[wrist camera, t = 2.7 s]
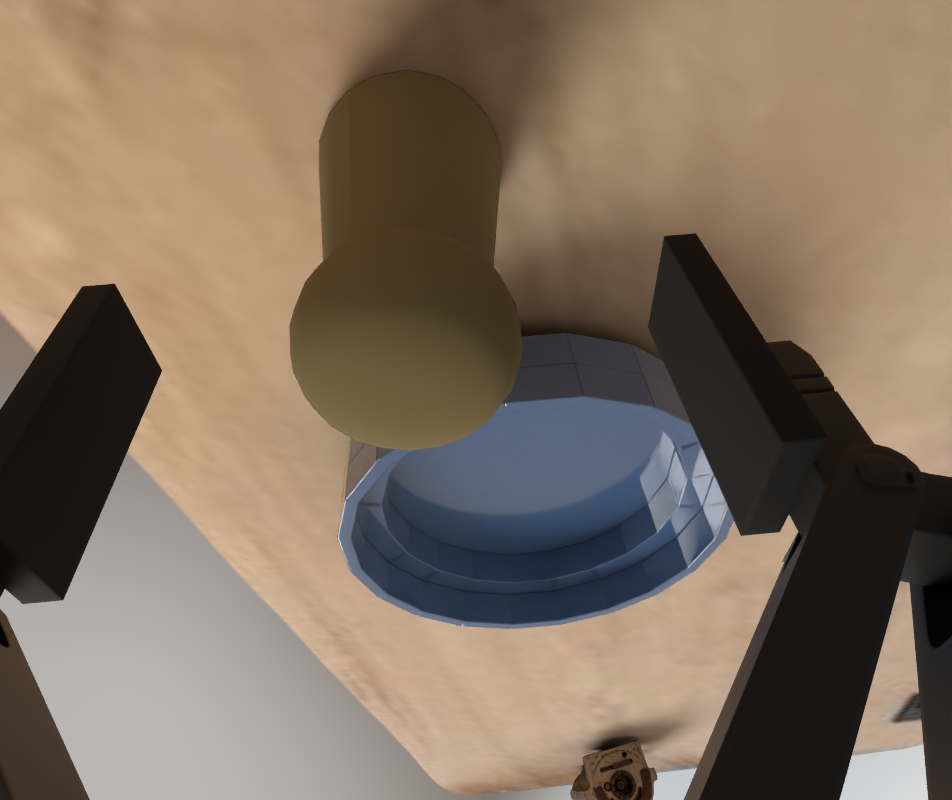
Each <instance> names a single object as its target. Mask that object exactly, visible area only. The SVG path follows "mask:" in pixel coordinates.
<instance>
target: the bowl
mask: <svg viewBox="0 0 952 800" xmlns="http://www.w3.org/2000/svg"><path fill="white" fill-rule="evenodd" d="M521 339H522V348H523V350H522V355H521V361H520V366H519V369H518V372H517V376H516V379H515V382H514V385H513V389H512V391H511V392H510V394H509V395H508V396H507V397H506V399H505V400H504V401H503V403H502V404H501V405H500V407H499V408H498V409H497V410H496V412H495V413H494V414H493V416H492V417H491V418H490V419H489V421H488V422H487V423H485V424H484V425H482V426H481V427H479V428H478V429H477V430H475V431H474V432H472V433H471V434H469V435H468V436H467V437H464V438H461V439H459V440H456V441H453V442H451V443H448V444H445V445H443V446H439V447H431V448H424V449H417V450H402V449H388V448H381V447H377V446H374V445H371V444H367V443H364V442H360V441H357V440H354V439H353V438H351V439H350V445H349V450H348V455H347V461H346V466H345V471H344V479H343V488H342V498H341V507H340V516H339V526H338V535H337V537H338V540H339V543H340V546H341V548H342V551H343V554H344V556H345V559H346V561H347V564H348V567H349V569H350V571H351V572H352V573H353V574H354V575H355V576H356V577H357V578H358V579H359V580H360V581H361V582H362V583H363V584H364V585H365V586H367V587H368V588H369V589H370V590H371V591H372V592H373V593H374V594H375V595H376V596H377V597H379V598H381V599H383V600H385V601H387V602H389V603H391V604H393V605H395V606H397V607H399V608H401V609H404V610H406V611H408V612H410V613H412V614H414V615H417V616H420V617H424V618H429V619H433V620H437V621H442V622H446V623H450V624H455V625H459V626H468V627H485V628H502V629H517V628H528V627H540V626H551V625H561V624H566V623H570V622H575V621H579V620H583V619H588V618H592V617H596V616H600V615H605V614H609V613H613V612H615V611H617V610H620V609H622V608H625V607H627V606H630V605H632V604H635V603H637V602H640V601H642V600H645V599H647V598H650V597H652V596H655V595H657V594H659V593H660V592H662V591H663V590H665V589H667V588H668V587H670V586H671V585H673V584H674V583H676V582H678V581H679V580H681V579H682V578H684V577H686V576H687V575H689V574H690V573H692V572H693V571H695V570H696V569H698V568H699V567H700V565H701V564H702V563H703V562H704V561H705V560H706V559H707V558H708V557H709V556H710V555H711V554H712V553H713V552H714V551H715V550H716V549H717V548H718V547H719V545H720V544H721V543H722V542H723V541H724V540H725V539H726V538H727V535H728V533H729V531H730V528H731V526H732V523H733V521H734V519H733V517H732V514H731V512H730V510H729V508H728V505H727V503H726V501H725V499H724V496H723V494H722V492H721V490H720V487H719V485H718V483H717V481H716V479H715V476H714V474H713V472H712V470H711V467H710V465H709V463H708V461H707V458H706V456H705V454H704V452H703V449H702V447H701V445H700V443H699V440H698V438H697V436H696V434H695V431H694V429H693V427H692V425H691V422H690V420H689V418H688V416H687V413H686V411H685V409H684V407H683V404H682V402H681V400H680V398H679V395H678V393H677V391H676V389H675V387H674V384H673V382H672V380H671V378H670V375H669V373H668V371H667V369H666V366H665V364H664V362H663V361H662V360H660V359H658V358H657V357H655V356H653V355H651V354H649V353H647V352H645V351H643V350H641V349H639V348H638V347H636V346H634V345H631V344H628V343H622V342H617V341H611V340H605V339H600V338H594V337H588V336H583V335H577V334H571V333H557V334H545V335H533V336H521Z"/></svg>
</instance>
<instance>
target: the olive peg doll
mask: <svg viewBox="0 0 952 800" xmlns="http://www.w3.org/2000/svg"><path fill="white" fill-rule="evenodd" d="M500 172H501V166H500V156H499V147H498V140H497V137H496V135H495V133H494V131H493V129H492V126H491V124H490V122H489V120H488V118H487V115H486V113H485V112H484V111H483V110H482V109H481V108H480V107H479V106H478V105H477V104H476V103H475V102H474V100H473V99H472V98H471V97H470V96H469V95H468V94H467V93H466V92H465V91H464V90H462V89H460V88H458V87H456V86H455V85H453V84H451V83H449V82H447V81H446V80H444V79H442V78H440V77H438V76H435V75H429V74H423V73H418V72H412V71H400V72H394V73H388V74H382V75H376V76H373V77H372V78H370V79H368V80H366V81H365V82H363V83H361V84H359V85H358V86H356V87H354V88H352V89H350V90H349V91H348V92H347V93H346V94H345V95H344V96H343V98H342V99H341V100H340V101H339V102H338V104H337V105H336V106H335V107H334V108H333V110H332V111H331V112H330V113H329V115H328V118H327V121H326V124H325V126H324V129H323V132H322V135H321V137H320V140H319V179H320V202H321V224H322V247H323V262H322V263H321V264H320V265H319V266H318V267H317V268H316V269H315V270H314V272H313V273H312V274H311V275H310V277H309V278H308V279H307V280H306V282H305V284H304V287H303V289H302V291H301V294H300V296H299V299H298V301H297V304H296V306H295V308H294V312H293V315H292V319H291V323H290V354H291V361H292V367H293V372H294V374H295V376H296V379H297V381H298V383H299V385H300V387H301V389H302V392H303V394H304V396H305V397H306V399H307V400H308V401H309V403H310V404H311V405H312V407H313V408H314V409H315V410H316V411H317V412H318V413H319V414H320V415H321V416H322V417H323V418H324V419H325V420H326V421H327V422H328V423H329V424H330V425H331V426H332V427H333V428H335V429H337V430H339V431H340V432H342V433H344V434H346V435H347V436H349V437H351V438H353V439H354V440H357V441H360V442H364V443H367V444H371V445H374V446H377V447H381V448H388V449H402V450H417V449H424V448H431V447H439V446H443V445H445V444H448V443H451V442H453V441H456V440H459V439H461V438H464V437H467V436H468V435H469V434H471V433H472V432H474V431H475V430H477V429H478V428H479V427H481V426H482V425H484V424H485V423H487V422H488V421H489V419H490V418H491V417H492V416H493V414H494V413H495V412H496V410H497V409H498V408H499V407H500V405H501V404H502V403H503V401H504V400H505V399H506V397H507V396H508V395H509V394H510V392H511V391H512V389H513V385H514V382H515V379H516V376H517V372H518V369H519V366H520V361H521V355H522V350H523V348H522V339H521V329H520V320H519V316H518V311H517V307H516V304H515V302H514V300H513V298H512V297H511V295H510V293H509V291H508V289H507V287H506V285H505V283H504V282H503V280H502V278H501V277H500V275H499V274H498V272H497V271H496V270H495V268H494V253H495V240H496V226H497V212H498V199H499V185H500Z"/></svg>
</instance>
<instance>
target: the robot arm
mask: <svg viewBox="0 0 952 800" xmlns="http://www.w3.org/2000/svg"><path fill="white" fill-rule="evenodd" d="M648 328H649V330H650V333H651V335H652V337H653V339H654V342H655V344H656V346H657V348H658V351H659V353H660V355H661V357H662V360H663V362H664V364H665V366H666V369H667V371H668V373H669V375H670V378H671V380H672V382H673V384H674V387H675V389H676V391H677V393H678V395H679V398H680V400H681V402H682V404H683V407H684V409H685V411H686V413H687V416H688V418H689V420H690V422H691V425H692V427H693V429H694V431H695V434H696V436H697V438H698V440H699V443H700V445H701V447H702V449H703V452H704V454H705V456H706V458H707V461H708V463H709V465H710V467H711V470H712V472H713V474H714V476H715V479H716V481H717V483H718V485H719V487H720V490H721V492H722V494H723V496H724V499H725V501H726V503H727V505H728V508H729V510H730V512H731V514H732V517H733V519H734V521H735V523H736V526H737V528H738V530H739V532H740V535H741V536H743V535H753V534H764V533H775V532H780V531H781V529H782V527H783V525H784V523H785V521H786V519H787V517H788V515H790V516H791V518H792V520H793V522H794V524H795V526H796V528H797V530H798V533H797V535H796V537H795V539H794V541H793V542H792V544H791V546H790V548H789V550H788V552H787V553H786V555H785V557H784V559H783V562H784V564H783V567H782V569H781V572H780V574H779V576H778V579H777V581H776V583H775V586H774V588H773V590H772V593H771V595H770V598H769V600H768V602H767V605H766V607H765V609H764V612H763V614H762V616H761V619H760V621H759V624H758V626H757V628H756V631H755V633H754V635H753V638H752V640H751V642H750V645H749V647H748V649H747V652H746V654H745V657H744V659H743V661H742V664H741V666H740V668H739V671H738V673H737V675H736V678H735V680H734V683H733V685H732V687H731V690H730V692H729V694H728V697H727V699H726V701H725V704H724V706H723V709H722V711H721V713H720V716H719V718H718V720H717V723H716V725H715V727H714V730H713V732H712V735H711V737H710V739H709V742H708V744H707V746H706V749H705V751H704V753H703V756H702V758H701V760H700V763H699V765H698V768H697V770H696V773H695V775H694V777H693V779H692V782H691V784H690V786H689V789H688V791H687V794H686V796H685V798H684V800H839V799H840V795H841V792H842V788H843V784H844V781H845V777H846V774H847V770H848V767H849V763H850V759H851V756H852V752H853V749H854V745H855V741H856V738H857V734H858V730H859V727H860V723H861V720H862V716H863V712H864V709H865V705H866V702H867V698H868V694H869V691H870V687H871V683H872V680H873V676H874V673H875V669H876V665H877V662H878V658H879V655H880V651H881V647H882V644H883V640H884V636H885V633H886V629H887V626H888V622H889V618H890V615H891V611H892V608H893V604H894V600H895V597H896V593H897V589H898V586H899V582H900V581H903V582H908V583H910V592H911V604H912V615H913V627H914V639H915V650H916V662H917V673H918V685H919V697H920V708H921V720H922V732H923V743H924V755H925V766H926V778H927V789H928V800H952V477H946V476H940V475H934V474H928V473H924V472H920V470H919V468H918V467H917V466H916V465H915V464H914V463H913V462H912V461H911V460H909V459H908V458H907V457H906V456H905V455H903V454H901V453H899V452H897V451H895V450H893V449H891V448H888V447H884V446H880V445H876V444H874V443H873V441H872V440H871V438H870V437H869V436H868V434H867V433H866V431H865V430H864V429H863V427H862V426H861V424H860V423H859V422H858V420H857V419H856V417H855V416H854V415H853V413H852V412H851V410H850V409H849V408H848V406H847V405H846V403H845V402H844V401H843V399H842V398H841V396H840V395H839V394H838V392H837V391H836V392H835V391H834V387H833V385H832V384H831V382H830V381H829V380H828V378H827V377H824V373H823V371H822V370H821V368H820V367H819V366H818V364H817V363H816V361H815V360H814V359H813V357H812V356H811V355H810V354H809V353H807V352H806V351H804V350H803V349H801V348H800V347H799V346H797V345H796V344H794V343H793V342H792V341H780V342H769V343H767V342H766V341H765V339H764V338H763V336H762V335H761V333H760V331H759V330H758V328H757V327H756V325H755V324H754V322H753V321H752V319H751V318H750V316H749V315H748V313H747V311H746V310H745V308H744V307H743V305H742V304H741V302H740V301H739V299H738V298H737V296H736V295H735V293H734V291H733V290H732V288H731V287H730V285H729V284H728V282H727V281H726V279H725V278H724V276H723V275H722V273H721V271H720V270H719V268H718V267H717V265H716V264H715V262H714V261H713V259H712V258H711V256H710V255H709V253H708V251H707V250H706V248H705V247H704V245H703V244H702V242H701V241H700V239H699V238H698V236H697V234H696V233H695V234H684V235H672V236H664V241H663V246H662V252H661V258H660V263H659V269H658V274H657V280H656V286H655V291H654V297H653V303H652V308H651V314H650V320H649V325H648ZM161 372H162V370H161V368H160V366H159V364H158V362H157V360H156V359H155V357H154V355H153V353H152V351H151V349H150V348H149V346H148V344H147V342H146V340H145V338H144V336H143V335H142V333H141V331H140V329H139V327H138V325H137V324H136V322H135V320H134V318H133V316H132V314H131V313H130V311H129V309H128V307H127V305H126V303H125V302H124V300H123V298H122V296H121V294H120V292H119V290H118V289H117V287H116V285H115V284H107V285H95V286H84V287H82V288H81V289H80V291H79V292H78V294H77V295H76V297H75V298H74V300H73V301H72V303H71V304H70V306H69V307H68V309H67V310H66V312H65V313H64V315H63V316H62V318H61V319H60V321H59V322H58V324H57V325H56V327H55V328H54V330H53V331H52V333H51V334H50V336H49V337H48V339H47V340H46V342H45V343H44V345H43V346H42V348H41V349H40V351H39V352H38V354H37V355H36V357H35V358H34V360H33V361H32V363H31V364H30V366H29V368H28V369H27V370H26V372H25V374H24V375H23V376H22V378H21V380H20V381H19V382H18V384H17V386H16V387H15V388H14V390H13V391H12V393H11V394H10V396H9V397H8V399H7V400H6V402H5V404H4V405H3V406H2V408H1V409H0V597H1V595H2V593H3V591H4V589H6V590H7V591H9V592H10V593H11V594H12V595H13V596H14V597H16V598H17V599H18V600H19V601H20V602H21V603H22V604H27V603H38V602H49V601H59V600H63V599H64V597H65V595H66V593H67V590H68V588H69V586H70V583H71V581H72V578H73V576H74V574H75V572H76V569H77V567H78V565H79V562H80V560H81V558H82V555H83V553H84V551H85V548H86V546H87V544H88V541H89V539H90V536H91V534H92V532H93V530H94V527H95V525H96V523H97V521H98V518H99V516H100V513H101V511H102V509H103V507H104V504H105V502H106V500H107V497H108V495H109V493H110V490H111V488H112V486H113V483H114V481H115V479H116V476H117V474H118V472H119V470H120V467H121V465H122V463H123V460H124V458H125V456H126V453H127V451H128V449H129V446H130V444H131V442H132V439H133V437H134V435H135V432H136V430H137V428H138V425H139V423H140V421H141V418H142V416H143V414H144V411H145V409H146V407H147V405H148V402H149V400H150V398H151V395H152V393H153V391H154V388H155V386H156V384H157V381H158V379H159V377H160V374H161ZM0 800H89V798H88V795H87V793H86V791H85V789H84V786H83V784H82V782H81V780H80V778H79V775H78V773H77V771H76V769H75V766H74V764H73V762H72V760H71V758H70V755H69V753H68V751H67V749H66V747H65V744H64V742H63V740H62V738H61V736H60V733H59V731H58V729H57V727H56V725H55V722H54V720H53V718H52V716H51V714H50V711H49V709H48V707H47V705H46V703H45V700H44V698H43V696H42V694H41V691H40V689H39V687H38V685H37V683H36V680H35V678H34V676H33V674H32V672H31V669H30V667H29V665H28V663H27V660H26V658H25V656H24V654H23V652H22V650H21V647H20V645H19V643H18V641H17V639H16V636H15V634H14V632H13V630H12V628H11V625H10V623H9V621H8V619H7V616H6V615H5V614H4V613H3V612H2V611H1V610H0Z"/></svg>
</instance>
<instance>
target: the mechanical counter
mask: <svg viewBox="0 0 952 800" xmlns="http://www.w3.org/2000/svg"><path fill="white" fill-rule="evenodd" d="M582 760H583V763H584V765H583V767H582V771H581V774H580V775H578V777H577V778H576V779H575V781H574V784H573V787H572V788H573V789H572V790H571V793H570V794H571V797H572V799H573V800H653V794H654V791H653V790H654V788H653V784H654V781H655V780H657V774H656V771H655V769H654V768H649V767H648V766H647V763H646V760H645V757H644V755H643V752H642V749H641V746H640V743H639V741H638V739H637V740H634V741H631V742H628V743H625V744H622V745H619V746H617V747H614V748H611V749H607V750H602V751H599V752H596V753H593V754H590V755H587V756H584V757H583V758H582Z"/></svg>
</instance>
